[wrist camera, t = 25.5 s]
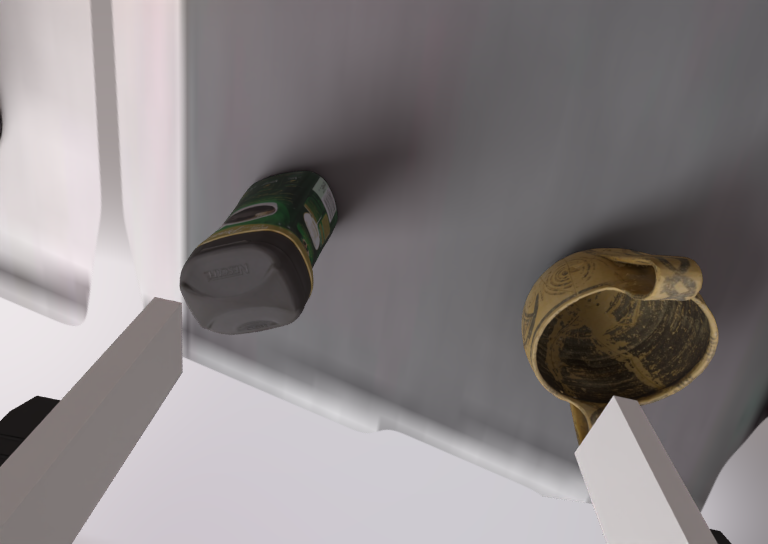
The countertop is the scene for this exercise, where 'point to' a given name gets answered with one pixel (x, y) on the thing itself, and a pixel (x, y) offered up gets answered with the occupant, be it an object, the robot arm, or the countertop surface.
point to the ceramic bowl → (617, 329)
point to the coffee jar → (261, 256)
